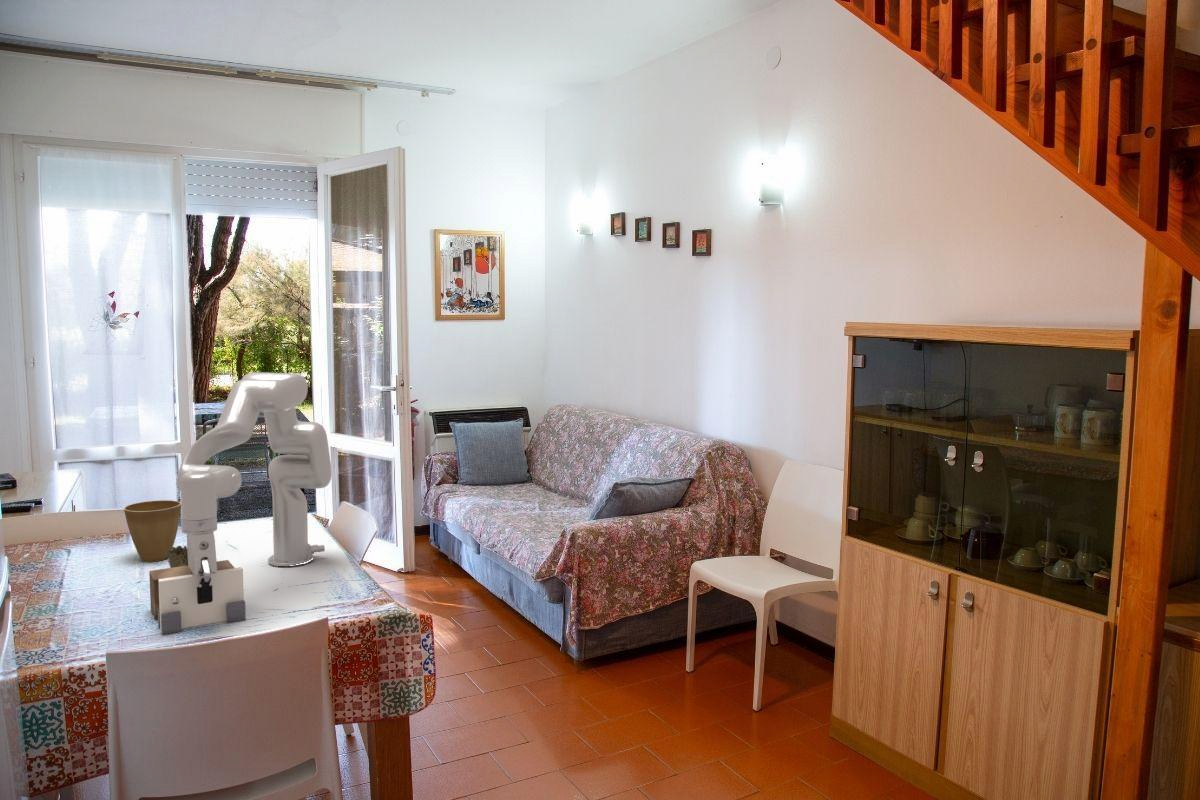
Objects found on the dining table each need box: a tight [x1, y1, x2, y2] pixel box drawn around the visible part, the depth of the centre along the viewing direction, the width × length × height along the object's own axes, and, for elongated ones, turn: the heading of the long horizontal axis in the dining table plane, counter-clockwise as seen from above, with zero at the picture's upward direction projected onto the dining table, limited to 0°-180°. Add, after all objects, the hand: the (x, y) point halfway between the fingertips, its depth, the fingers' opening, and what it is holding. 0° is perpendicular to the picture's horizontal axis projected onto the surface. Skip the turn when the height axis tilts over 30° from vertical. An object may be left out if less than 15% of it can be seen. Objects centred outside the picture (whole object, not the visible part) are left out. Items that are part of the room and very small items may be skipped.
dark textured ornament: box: [167, 545, 188, 568], centre depth 237 cm, size 8×7×8 cm
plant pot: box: [123, 499, 181, 563], centre depth 253 cm, size 15×15×16 cm
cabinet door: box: [158, 566, 245, 631], centre depth 203 cm, size 18×3×12 cm, turn 125°
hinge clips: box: [157, 599, 247, 636], centre depth 203 cm, size 18×6×4 cm, turn 125°
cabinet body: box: [148, 559, 235, 621], centre depth 212 cm, size 18×8×10 cm, turn 125°
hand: (201, 597), depth 203 cm, fingers open, 7 cm apart
